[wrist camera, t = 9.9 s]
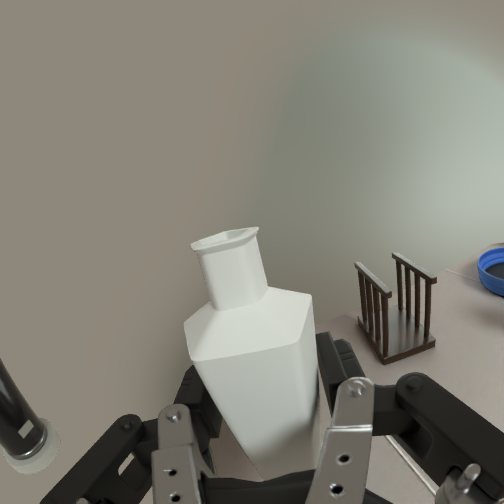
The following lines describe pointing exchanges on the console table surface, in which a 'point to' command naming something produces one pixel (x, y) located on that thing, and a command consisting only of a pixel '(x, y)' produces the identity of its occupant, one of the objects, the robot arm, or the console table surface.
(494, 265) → the bowl
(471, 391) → the console table surface
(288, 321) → the perfume bottle
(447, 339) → the console table surface
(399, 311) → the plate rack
